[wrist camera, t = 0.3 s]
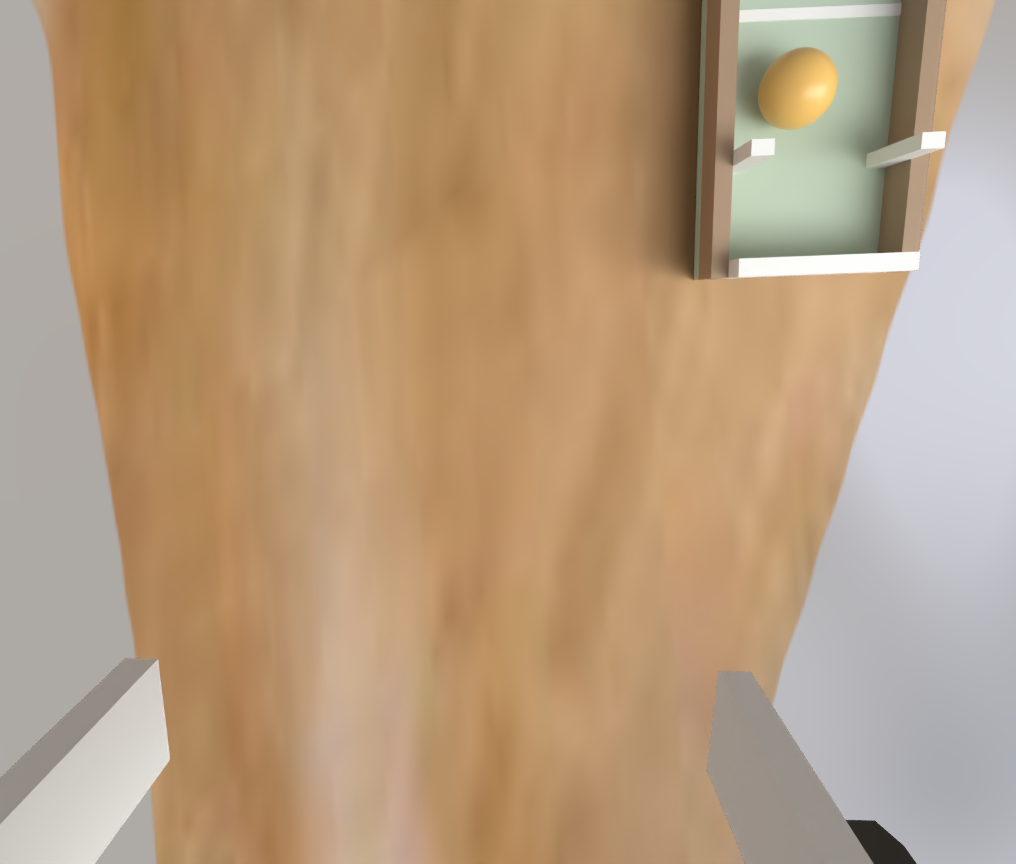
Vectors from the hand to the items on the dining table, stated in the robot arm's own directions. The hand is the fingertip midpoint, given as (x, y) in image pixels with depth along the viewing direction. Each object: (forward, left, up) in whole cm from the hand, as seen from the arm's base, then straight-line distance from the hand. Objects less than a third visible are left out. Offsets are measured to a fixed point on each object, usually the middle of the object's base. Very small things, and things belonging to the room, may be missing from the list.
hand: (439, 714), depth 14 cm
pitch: (-23, +20, -28) cm, 41 cm away
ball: (-20, +18, -25) cm, 37 cm away
